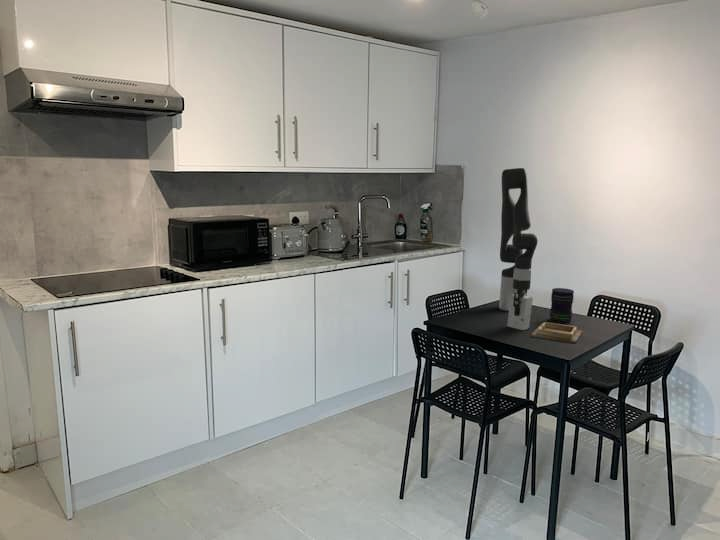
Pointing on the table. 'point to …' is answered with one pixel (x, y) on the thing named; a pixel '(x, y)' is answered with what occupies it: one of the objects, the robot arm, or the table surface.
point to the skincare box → (524, 317)
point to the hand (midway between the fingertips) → (519, 313)
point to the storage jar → (561, 305)
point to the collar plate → (557, 332)
